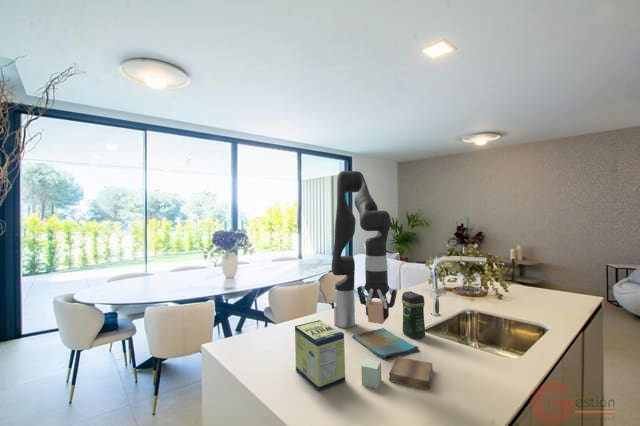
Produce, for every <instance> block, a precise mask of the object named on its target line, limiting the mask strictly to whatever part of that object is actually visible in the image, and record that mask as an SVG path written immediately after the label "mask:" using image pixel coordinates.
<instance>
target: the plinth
mask: <svg viewBox="0 0 640 426" xmlns="http://www.w3.org/2000/svg"><path fill="white" fill-rule="evenodd" d="M433 370H434V369H433V362H428V361H424V360H423V361H422V360H417V359H412V358H406V357H403V356H399V357H395V358H394V361H393V364H392V367H391V368H390V371H389V374H388V375H389V378H388V380H389V381H390V382H392V383H398V384H401V385H406V386H410V387H415V388H420V389H425V390H430V388H431V382H432V376H433Z"/></svg>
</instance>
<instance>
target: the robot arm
mask: <svg viewBox="0 0 640 426" xmlns="http://www.w3.org/2000/svg"><path fill="white" fill-rule="evenodd" d="M347 193H356V194H355V196H354V206H355V208H356V210H357V211H358V215H359V226H360V228H361V229H362V230H363V231H366V232H377V234H376V235H375V236H373V237H369V238H367V239H366V240H365V244H364V245H365V246H364V247H365V259H364V260H365V262H364V263H365V268H364V270H365V273H364V274H365V284H364V285H358V286H357V288H356V289H357V294H358V295H357V296H358V298H359V302H360V304H361V305H364V306H365V315H366V316H367V317H368V304H369V303H370V302H372V301H373V300H374V299H378V300H380V301H381V302H382V303H383V306H384V309H383V313H384V320H385V321H386V320H388V318H389V317H390V311H389V310H390V309H391V308H393V307H395V303H396V300H397V299H396V298H397V293H398V289H397V288H391V287H390V286H389V281H388V280H389V279H388V277H389V276H388V273H389V272H388V268H389V266H388V265H389V264H388V260H387V240H388V235H389V231H390V227H391V223H392V220H391V218H392V217H391V215H390V213H389V212H388V211H386V210H378V209H379V208H378V205H377V203H376V201H375V200H374V199H373V197H372V196H371V194H370V191H369V188H368V184H367V182H366V179H365V176H364V175H363V173H362V172H361V171H358V170H357V171H356V170H342V171H339V172H338V175H337V181H336V213H335V224H334V242H333V243H334V245H333V252H332V258H331V272H332V274H333V275H334V276H339V277H340V276H345V277H344V278H343V279H341V280H339V281H337V282H336V283H335V285H334V287H335V288H334V289H335V291H334V292H335V304H334V305H333V311H334V312H333V313H334V314H333V315H334V316H333V317H334V319H333V320H334V326H337V327H339V328H344V329H345V328H347V329H349V328H353V327H354V326H355V325H356V314H355V313H356V310H355V309H356V307H355V302H356V300H355V274H356V273H355V271H356V270H355V267H356V265H355V264H356V263H355V258H354V257H353V256H352V255H342V254H343V251H344V250H345V248H346V246H347V245H348V244H349V243H350V241H351V240H352V239H353V237H354V235H355V232H356V224H357V223H356V217H355V215H354V213H353V211H352V209H351V208H350V206H349V205H348V202H347V199H346V198H347V197H346V194H347ZM365 291H366V293H367V294H368V295H367V298H366V295H365ZM388 292H389V295H390V299H389V301H388V296H387V293H388Z"/></svg>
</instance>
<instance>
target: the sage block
mask: <svg viewBox="0 0 640 426" xmlns="http://www.w3.org/2000/svg"><path fill="white" fill-rule="evenodd" d="M381 381H382V361H380V360H374V359H370V358H365V360H364V361H363V362H362V364H361V386H366V387H370V388H372V389H373V388H375V389H378V388H379V386H380V384H381Z"/></svg>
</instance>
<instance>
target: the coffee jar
mask: <svg viewBox="0 0 640 426" xmlns="http://www.w3.org/2000/svg"><path fill="white" fill-rule="evenodd" d="M401 295H402V296H401V304H402V334H404V335H405V336H407V337H409V338H411V339H422V338H425V336H426V327H425V326H426V325H425V324H426V323H425V314H424V313H425V312H424V308H425V303H426V302H425V297H424V295H422V294H420V293H416V292H414V291H409V290H408V291H404V292H403V293H402V294H401Z"/></svg>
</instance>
